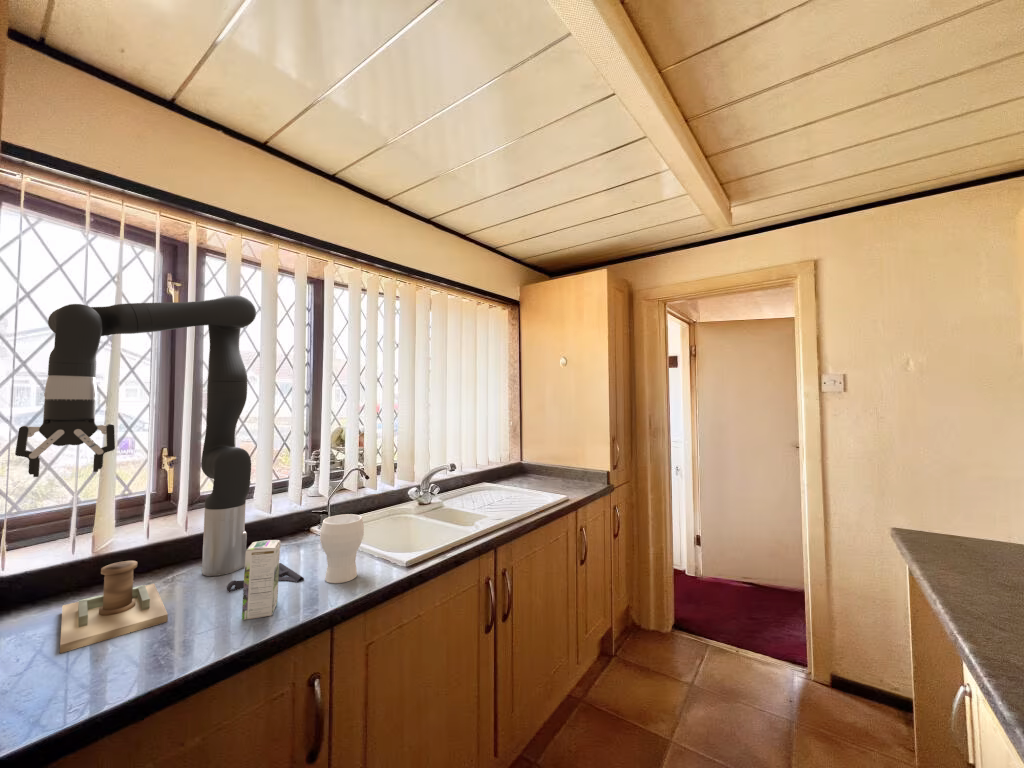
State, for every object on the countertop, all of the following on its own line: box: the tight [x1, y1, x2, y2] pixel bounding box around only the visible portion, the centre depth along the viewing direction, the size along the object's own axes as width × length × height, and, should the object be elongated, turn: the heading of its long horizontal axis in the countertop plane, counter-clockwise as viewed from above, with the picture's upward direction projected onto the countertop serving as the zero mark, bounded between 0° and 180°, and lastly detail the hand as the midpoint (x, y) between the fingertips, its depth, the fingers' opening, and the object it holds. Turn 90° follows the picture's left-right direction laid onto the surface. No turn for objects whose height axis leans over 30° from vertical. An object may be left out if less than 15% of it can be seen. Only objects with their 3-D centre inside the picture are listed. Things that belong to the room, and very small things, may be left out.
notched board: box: [59, 583, 169, 654], centre depth 87 cm, size 15×21×4 cm
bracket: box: [226, 562, 305, 593], centre depth 104 cm, size 14×15×3 cm
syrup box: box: [241, 539, 281, 621], centre depth 89 cm, size 6×6×14 cm
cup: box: [319, 513, 365, 584], centre depth 107 cm, size 11×11×15 cm
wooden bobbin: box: [99, 560, 138, 616], centre depth 87 cm, size 6×6×9 cm
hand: (66, 474), depth 87 cm, fingers open, 8 cm apart
